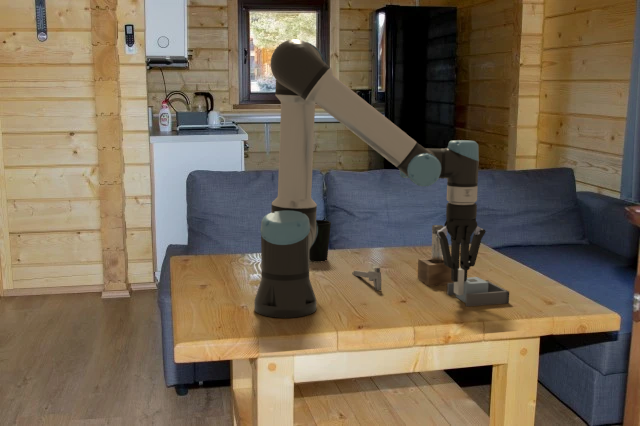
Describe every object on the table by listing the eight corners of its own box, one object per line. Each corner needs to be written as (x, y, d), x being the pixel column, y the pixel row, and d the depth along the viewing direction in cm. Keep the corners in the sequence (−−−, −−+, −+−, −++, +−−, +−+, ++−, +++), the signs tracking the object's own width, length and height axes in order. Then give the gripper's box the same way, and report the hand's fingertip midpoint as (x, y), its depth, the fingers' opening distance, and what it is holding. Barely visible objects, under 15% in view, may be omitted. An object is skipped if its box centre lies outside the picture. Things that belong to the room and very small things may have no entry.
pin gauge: (433, 280, 213) (434, 227, 211) (429, 277, 216) (430, 225, 213) (443, 279, 214) (445, 226, 211) (439, 276, 217) (440, 224, 214)
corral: (466, 306, 191) (467, 294, 190) (447, 294, 202) (447, 283, 201) (508, 303, 194) (509, 291, 193) (487, 291, 205) (487, 280, 204)
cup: (335, 258, 242) (335, 221, 240) (322, 263, 235) (322, 225, 233) (314, 255, 246) (314, 219, 244) (301, 260, 239) (301, 222, 237)
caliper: (381, 291, 205) (382, 269, 204) (377, 292, 204) (378, 269, 203) (355, 274, 224) (355, 253, 223) (351, 274, 224) (352, 253, 222)
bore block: (428, 286, 210) (429, 265, 209) (417, 279, 218) (418, 258, 217) (455, 284, 212) (456, 263, 211) (443, 277, 220) (444, 257, 219)
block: (466, 303, 194) (466, 283, 193) (455, 297, 199) (456, 277, 198) (487, 301, 195) (488, 282, 194) (476, 295, 201) (477, 276, 200)
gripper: (444, 205, 187) (441, 299, 191) (492, 203, 190) (488, 295, 194) (431, 201, 194) (429, 291, 198) (478, 199, 197) (475, 288, 201)
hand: (458, 293), depth 196 cm, fingers closed
